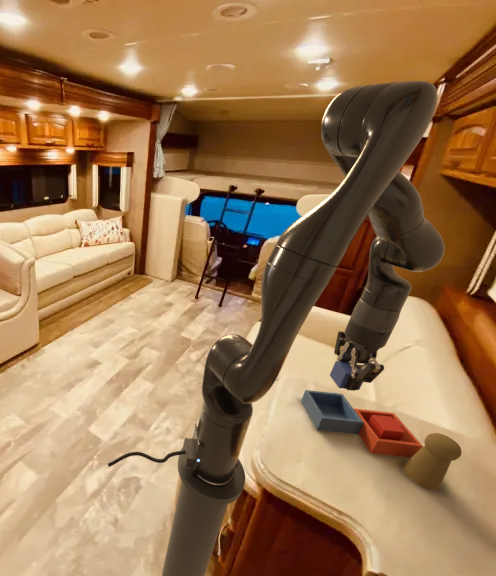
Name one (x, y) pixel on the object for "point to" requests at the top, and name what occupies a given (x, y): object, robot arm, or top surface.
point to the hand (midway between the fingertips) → (344, 381)
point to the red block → (386, 427)
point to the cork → (432, 461)
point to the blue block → (342, 373)
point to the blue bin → (331, 412)
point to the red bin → (382, 446)
